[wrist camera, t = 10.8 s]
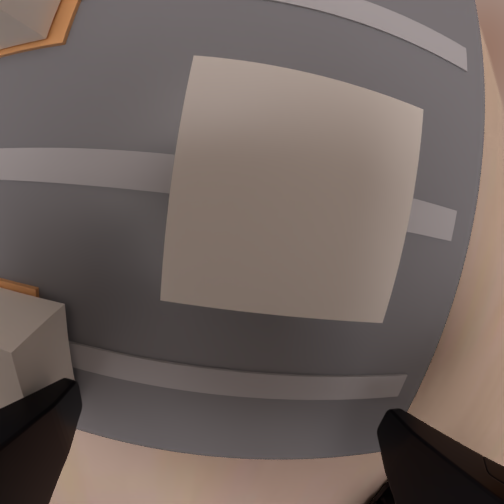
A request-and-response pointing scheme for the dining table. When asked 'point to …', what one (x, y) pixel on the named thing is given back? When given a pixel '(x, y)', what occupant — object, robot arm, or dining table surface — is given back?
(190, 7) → the switch panel
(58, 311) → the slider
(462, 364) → the dining table surface
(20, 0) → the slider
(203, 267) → the slider middle
